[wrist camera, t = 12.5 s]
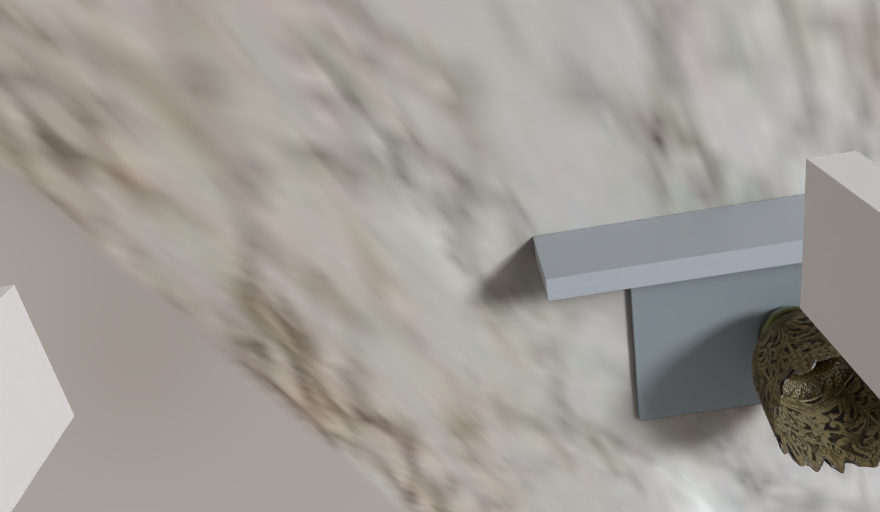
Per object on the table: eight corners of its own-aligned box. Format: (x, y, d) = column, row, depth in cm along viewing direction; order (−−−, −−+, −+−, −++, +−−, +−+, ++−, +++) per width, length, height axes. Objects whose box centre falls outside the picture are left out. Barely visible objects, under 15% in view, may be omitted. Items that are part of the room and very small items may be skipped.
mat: (628, 272, 43) (630, 276, 43) (811, 244, 42) (814, 247, 42) (638, 416, 47) (640, 420, 47) (804, 393, 47) (807, 396, 46)
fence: (532, 236, 42) (545, 279, 37) (972, 167, 41) (1041, 203, 36) (556, 421, 47) (569, 478, 43) (944, 366, 46) (1000, 418, 42)
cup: (795, 400, 46) (862, 495, 39) (694, 353, 45) (745, 444, 38) (879, 302, 44) (968, 386, 36) (773, 249, 42) (845, 326, 35)
